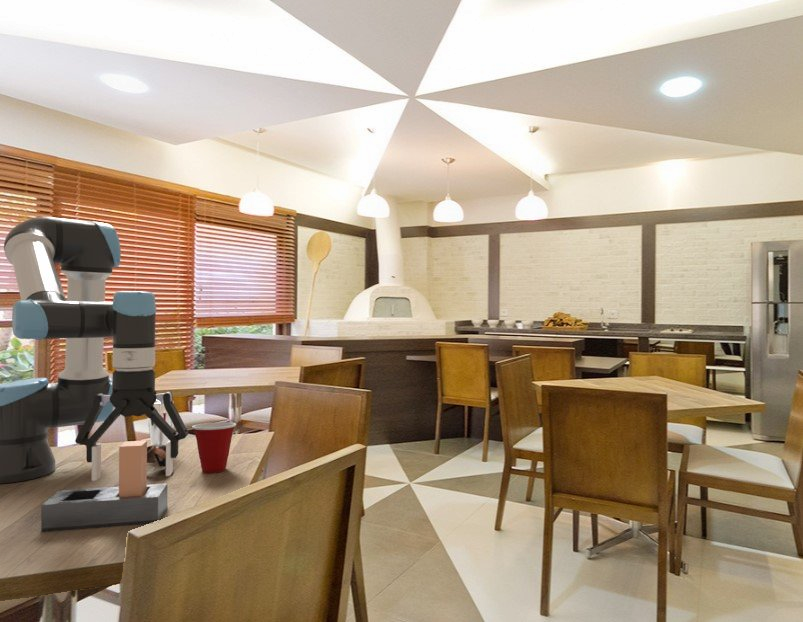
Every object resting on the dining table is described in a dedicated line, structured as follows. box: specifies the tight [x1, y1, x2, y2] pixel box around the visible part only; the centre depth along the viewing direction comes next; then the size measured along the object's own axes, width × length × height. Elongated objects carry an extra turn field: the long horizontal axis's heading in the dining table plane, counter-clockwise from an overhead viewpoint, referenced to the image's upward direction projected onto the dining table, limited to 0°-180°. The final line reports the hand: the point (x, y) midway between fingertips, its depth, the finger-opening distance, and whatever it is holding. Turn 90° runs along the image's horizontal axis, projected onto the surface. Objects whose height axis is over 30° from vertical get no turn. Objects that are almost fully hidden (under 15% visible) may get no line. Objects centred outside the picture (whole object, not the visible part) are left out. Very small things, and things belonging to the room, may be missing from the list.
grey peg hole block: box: [40, 482, 168, 533], centre depth 101 cm, size 20×8×5 cm, turn 103°
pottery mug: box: [147, 444, 174, 478], centre depth 129 cm, size 12×10×8 cm
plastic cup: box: [191, 421, 237, 474], centre depth 132 cm, size 11×11×12 cm
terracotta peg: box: [118, 440, 148, 497], centre depth 102 cm, size 4×4×14 cm
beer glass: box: [147, 400, 174, 448], centre depth 147 cm, size 7×7×15 cm
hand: (133, 476), depth 102 cm, fingers open, 13 cm apart
